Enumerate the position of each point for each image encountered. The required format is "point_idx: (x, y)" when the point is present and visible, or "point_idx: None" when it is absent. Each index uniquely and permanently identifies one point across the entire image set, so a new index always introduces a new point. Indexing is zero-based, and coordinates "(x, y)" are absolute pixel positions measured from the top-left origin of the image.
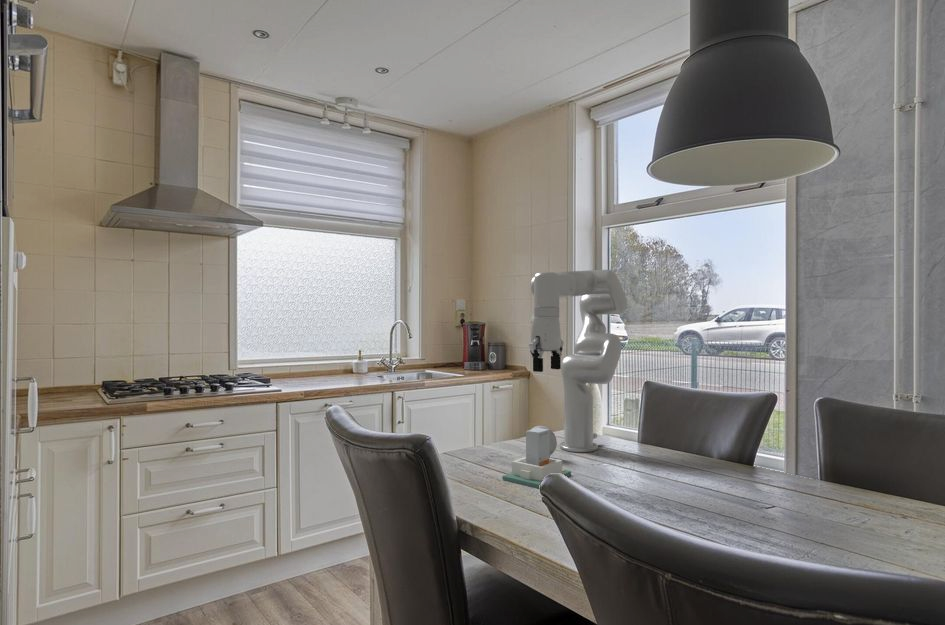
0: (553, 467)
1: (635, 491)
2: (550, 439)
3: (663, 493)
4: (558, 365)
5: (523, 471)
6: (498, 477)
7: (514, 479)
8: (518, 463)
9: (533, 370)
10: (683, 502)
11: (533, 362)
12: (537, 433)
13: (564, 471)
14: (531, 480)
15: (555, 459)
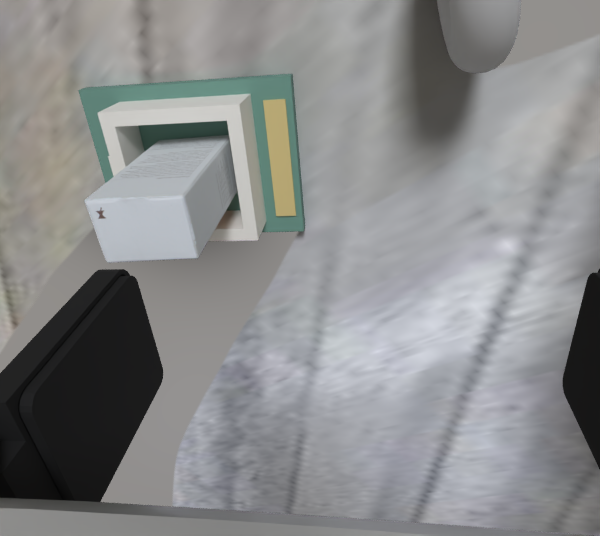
0: None
1: (297, 398)
2: (453, 58)
3: (329, 439)
4: (579, 420)
5: (112, 170)
6: (89, 55)
7: (95, 143)
8: (107, 144)
9: (101, 276)
10: (301, 474)
11: (34, 350)
12: (105, 256)
13: (285, 217)
14: None
15: (248, 217)
